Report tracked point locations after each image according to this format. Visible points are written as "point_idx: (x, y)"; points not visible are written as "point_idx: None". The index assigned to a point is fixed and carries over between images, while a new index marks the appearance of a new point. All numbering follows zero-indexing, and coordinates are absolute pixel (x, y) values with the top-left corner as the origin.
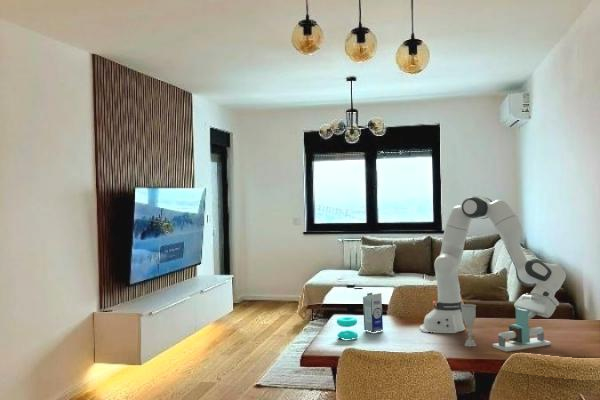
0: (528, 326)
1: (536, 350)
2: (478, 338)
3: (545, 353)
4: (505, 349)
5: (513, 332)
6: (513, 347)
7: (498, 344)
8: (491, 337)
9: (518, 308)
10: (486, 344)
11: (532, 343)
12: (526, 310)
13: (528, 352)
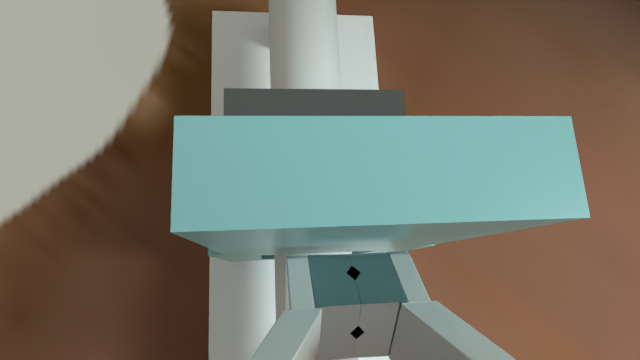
0: (224, 254)
1: (124, 241)
2: (596, 82)
3: (10, 246)
4: (220, 15)
5: (284, 87)
6: (215, 79)
7: (340, 40)
8: (597, 179)
9: (565, 202)
10: (435, 30)
11: (243, 301)
12: (208, 210)
13: (111, 145)
